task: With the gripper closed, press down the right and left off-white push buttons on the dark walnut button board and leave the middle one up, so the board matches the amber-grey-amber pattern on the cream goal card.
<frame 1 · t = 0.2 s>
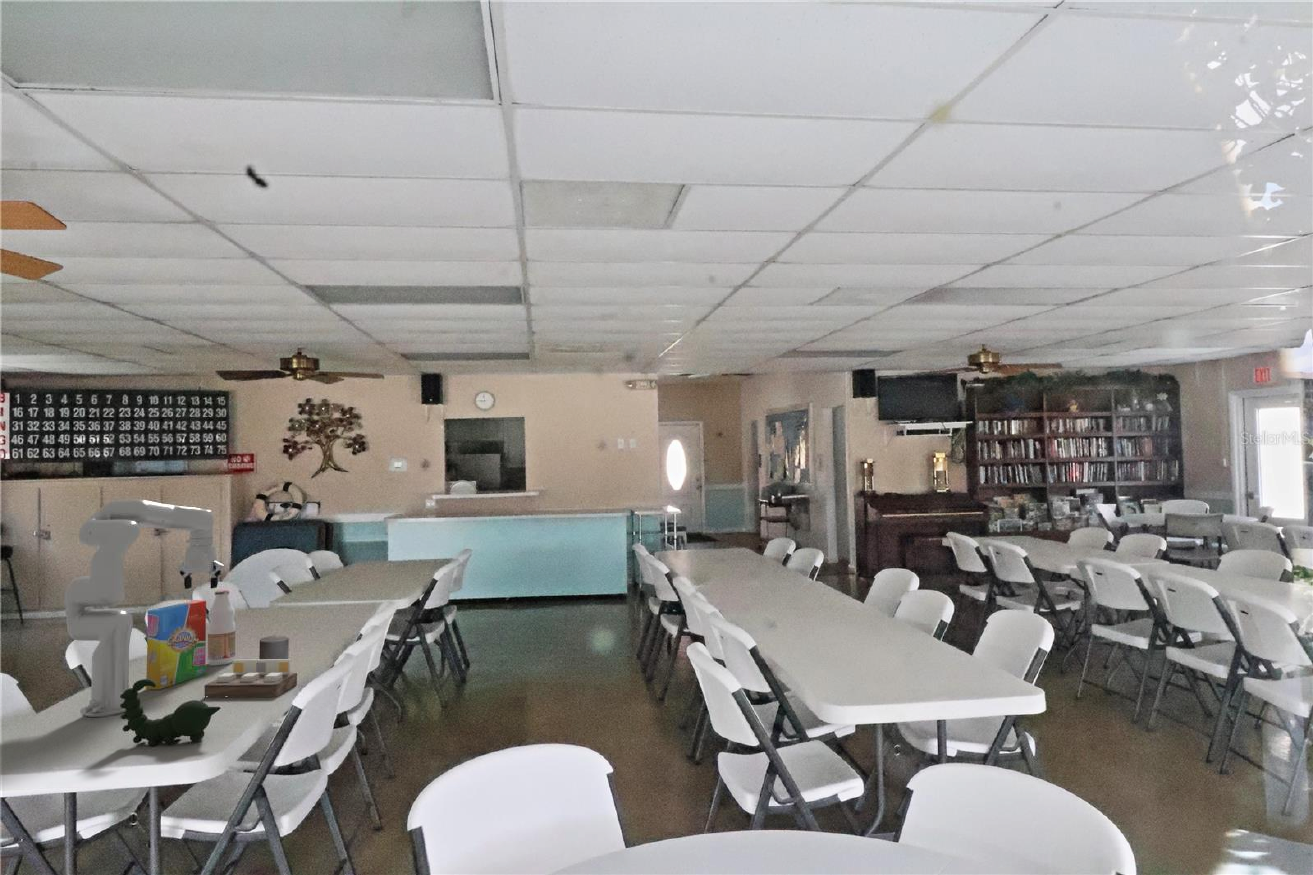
hand: (201, 588, 282), 31 cm above the table, tool pointing down, fingers open, 9 cm apart
goal card: (261, 674, 262), resting on button board
fruit juice: (221, 663, 293), on the table
toy figurine: (171, 743, 209), on the table
button board: (251, 690, 256), on the table
left button: (227, 678, 255), point 5 cm above the table, slide at 0.0 cm
middle button: (250, 678, 255), point 5 cm above the table, slide at 0.0 cm
pillar candle: (274, 676, 274), on the table
game box: (176, 682, 268), on the table
right button: (273, 677, 255), point 5 cm above the table, slide at 0.0 cm
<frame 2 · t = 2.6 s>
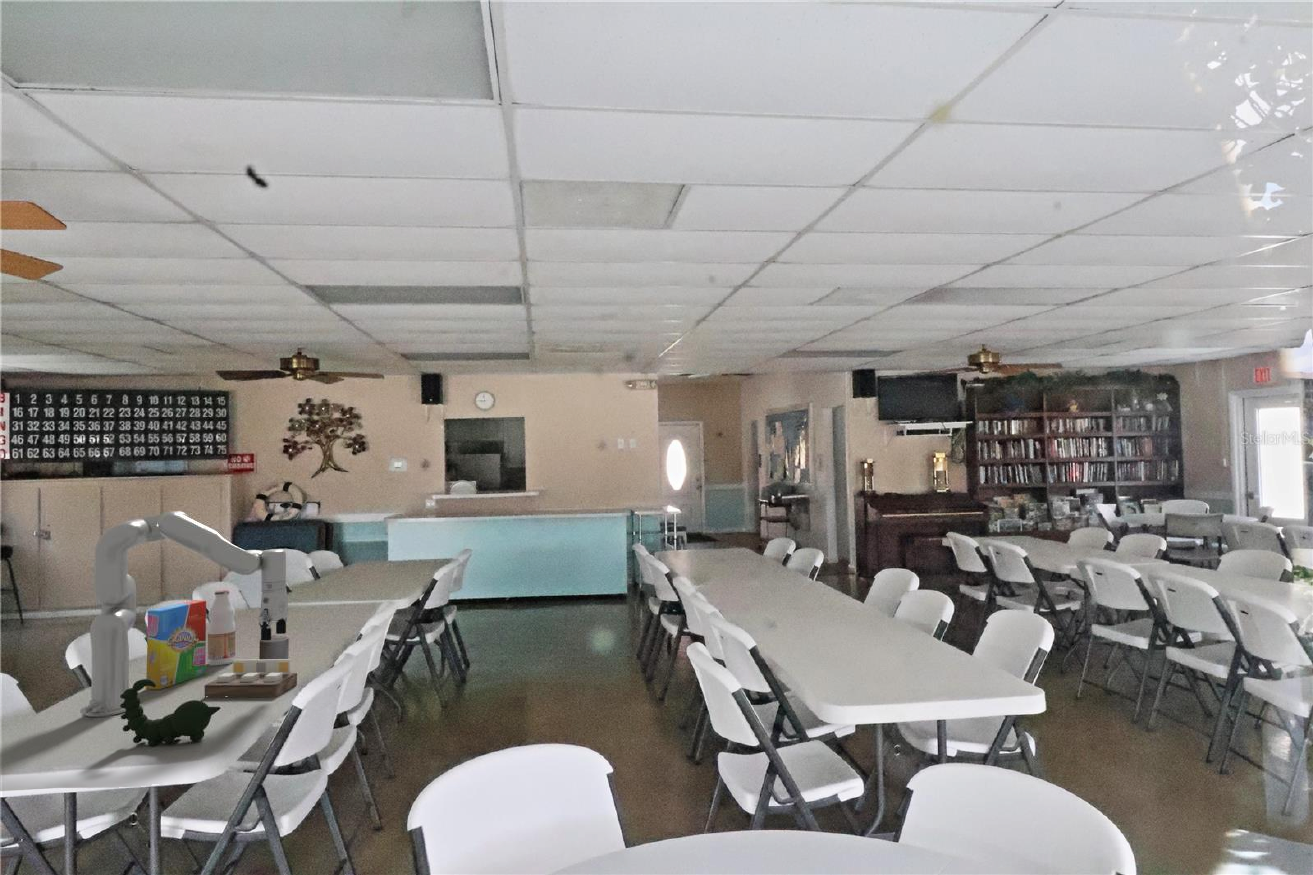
hand: (273, 636, 255), 18 cm above the table, tool pointing down, fingers open, 9 cm apart
nothing on the table moved.
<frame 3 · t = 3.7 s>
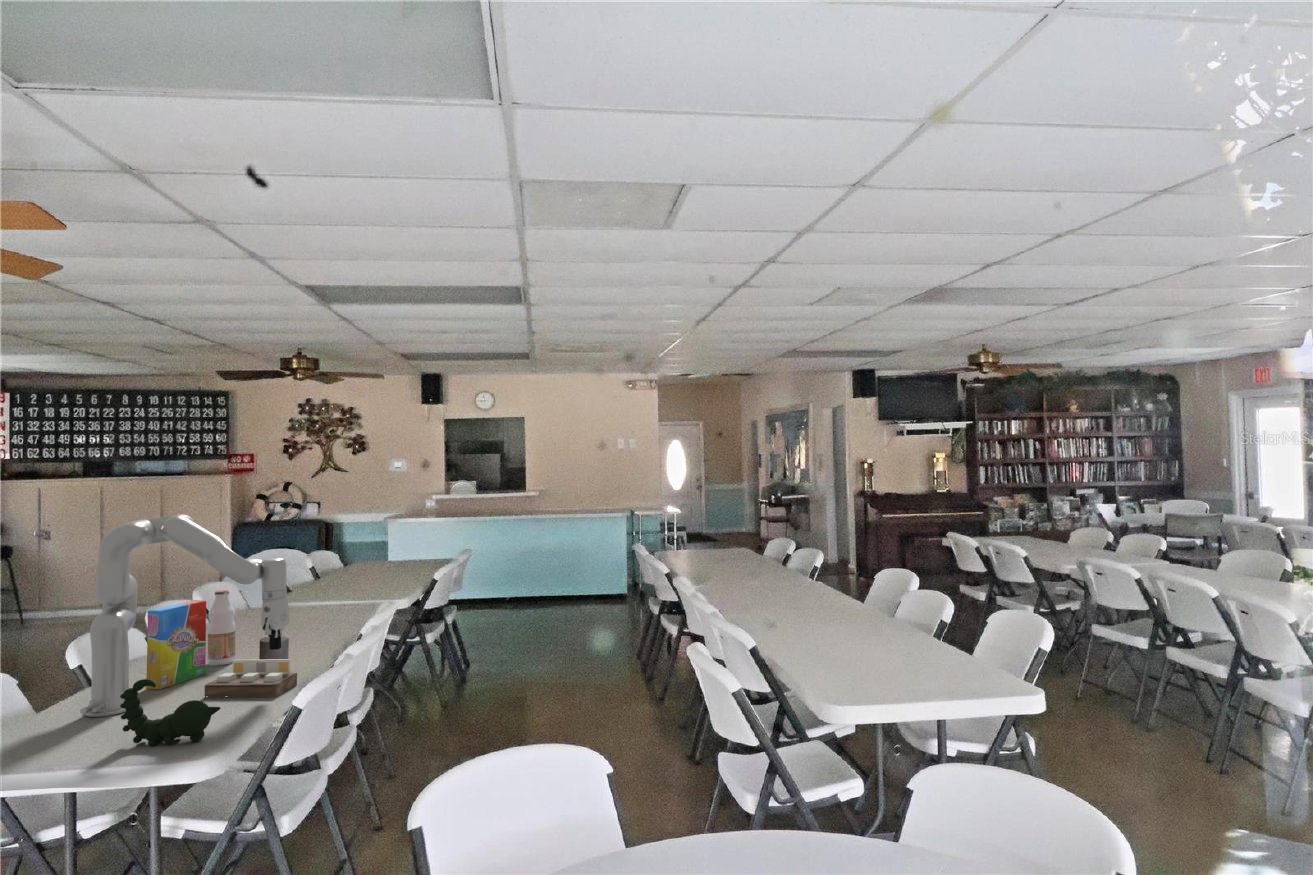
hand: (275, 648, 255), 14 cm above the table, tool pointing down, fingers closed
nothing on the table moved.
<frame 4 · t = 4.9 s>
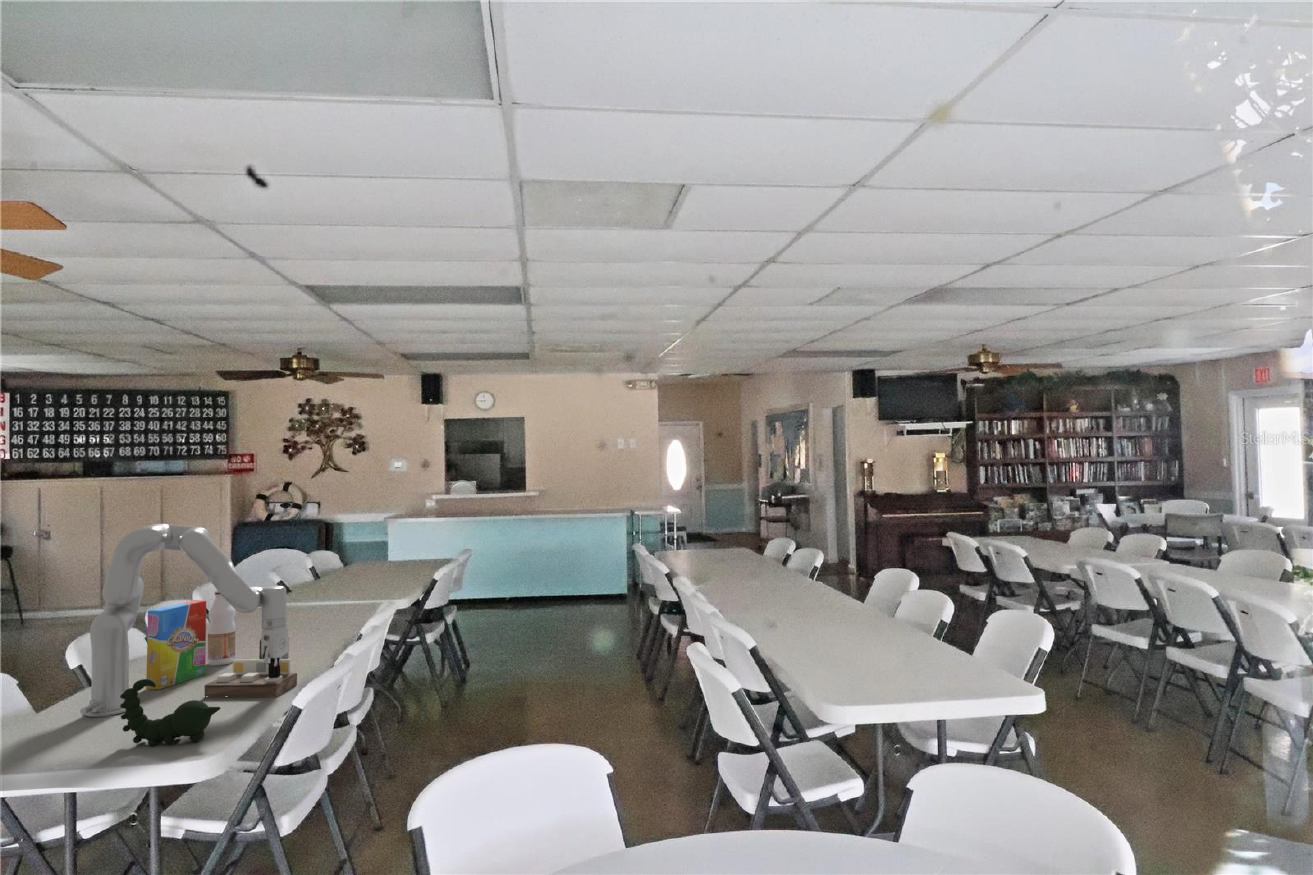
hand: (274, 677, 255), 5 cm above the table, tool pointing down, fingers closed
right button: (273, 681, 255), point 4 cm above the table, slide at 1.0 cm, touching gripper
everything else where it was.
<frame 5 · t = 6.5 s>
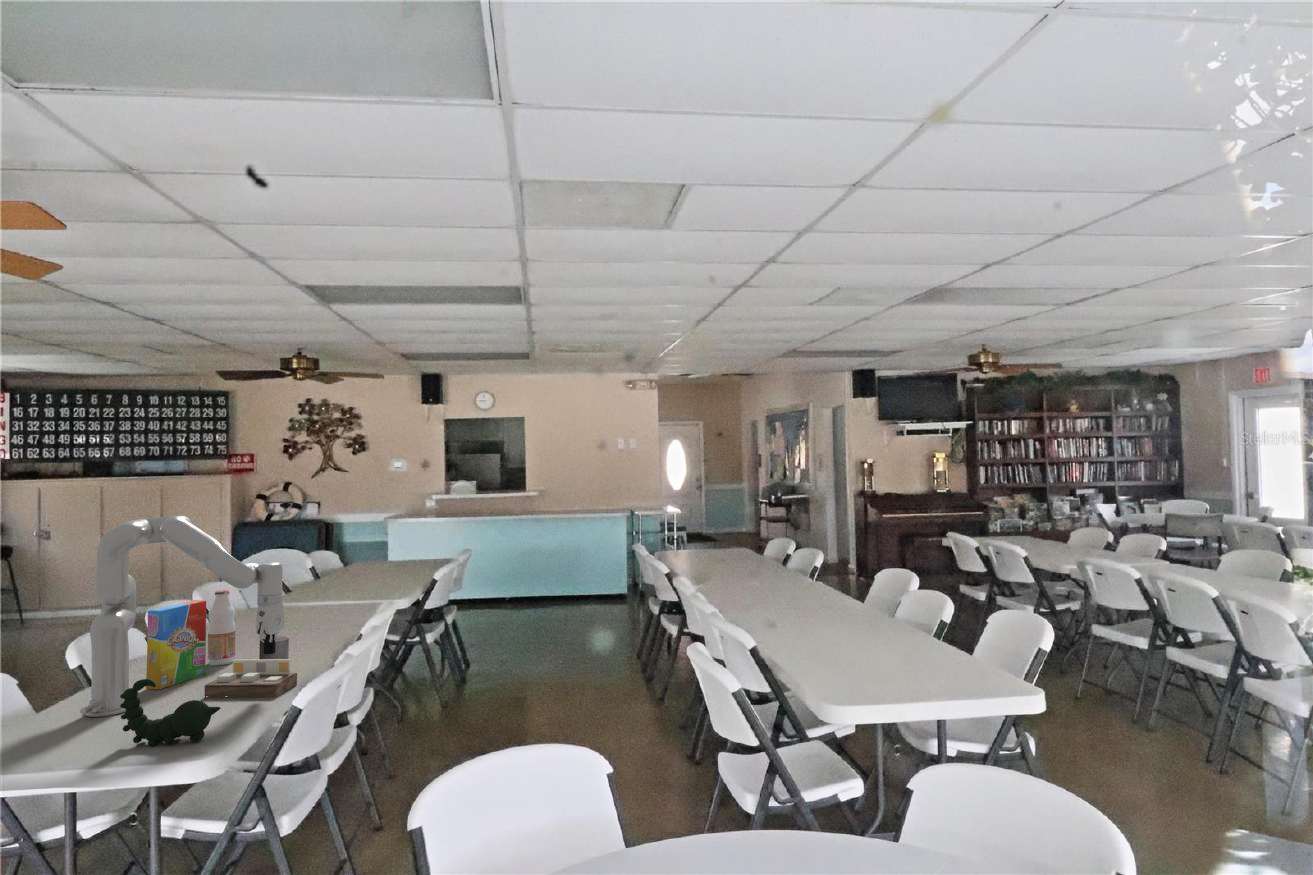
hand: (269, 653, 255), 13 cm above the table, tool pointing down, fingers closed
right button: (273, 681, 255), point 3 cm above the table, slide at 1.3 cm
everything else where it was.
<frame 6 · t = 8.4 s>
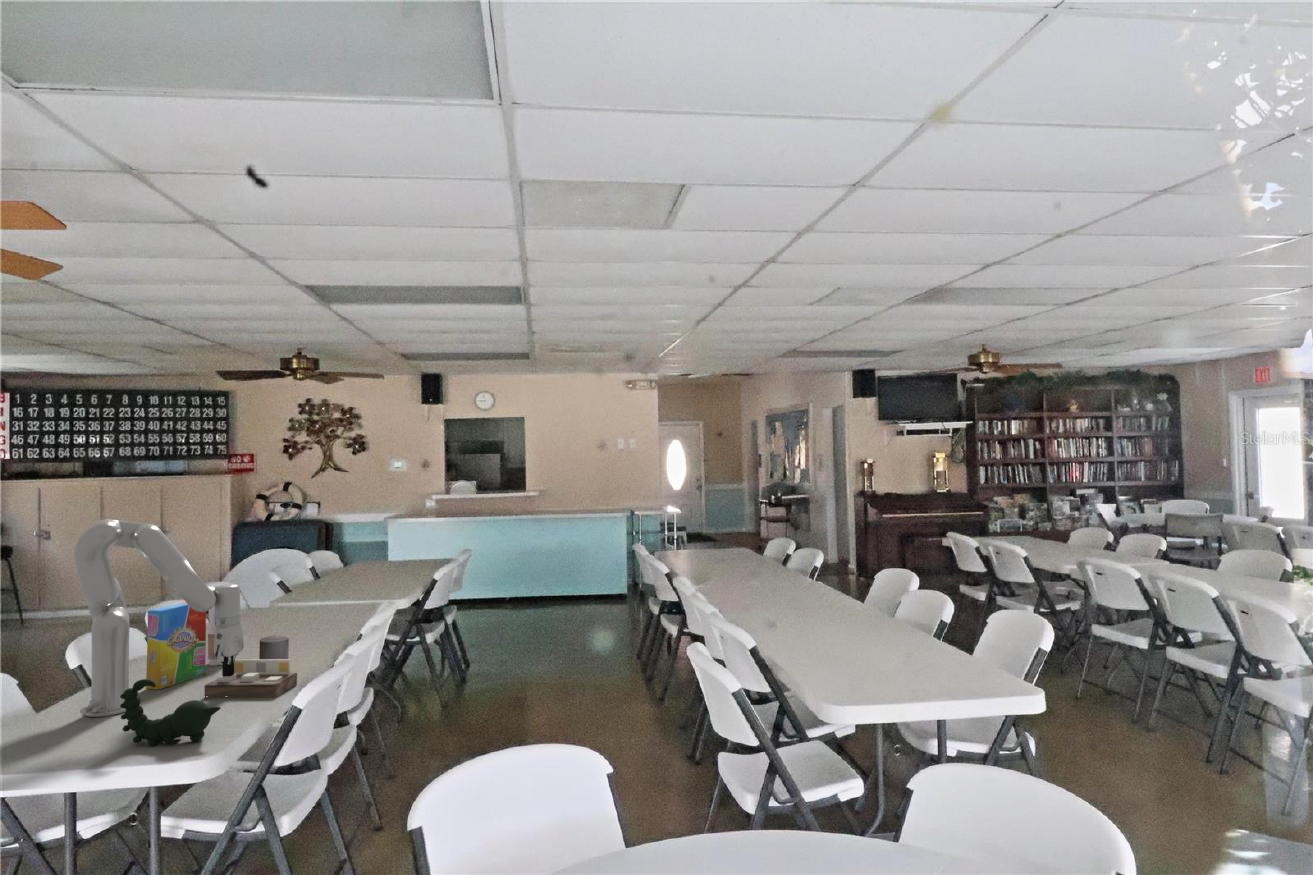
hand: (228, 675, 255), 5 cm above the table, tool pointing down, fingers closed
left button: (227, 679, 255), point 4 cm above the table, slide at 0.4 cm, touching gripper
everything else where it was.
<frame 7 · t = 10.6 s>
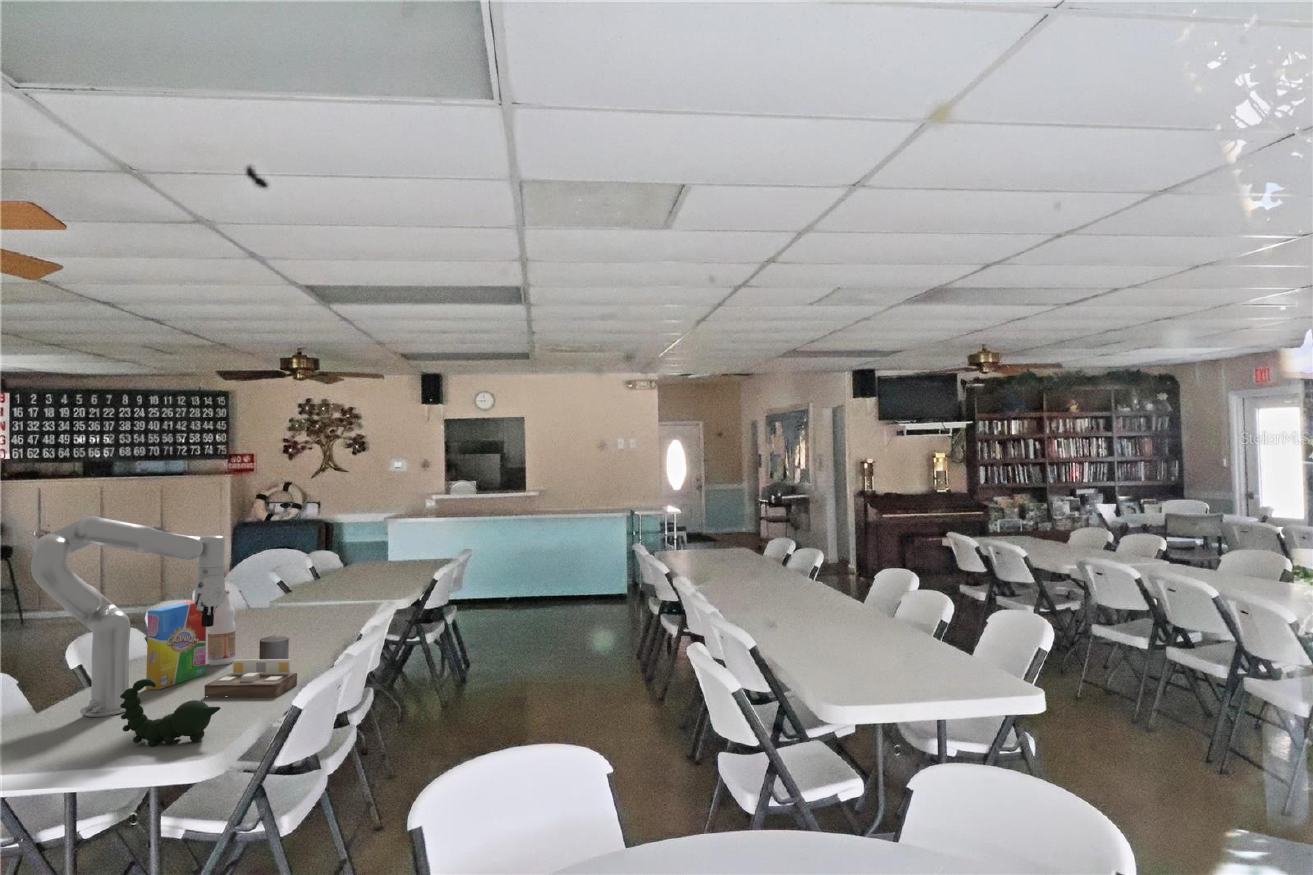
hand: (207, 626, 255), 22 cm above the table, tool pointing down, fingers closed
left button: (227, 682, 255), point 3 cm above the table, slide at 1.3 cm
everything else where it was.
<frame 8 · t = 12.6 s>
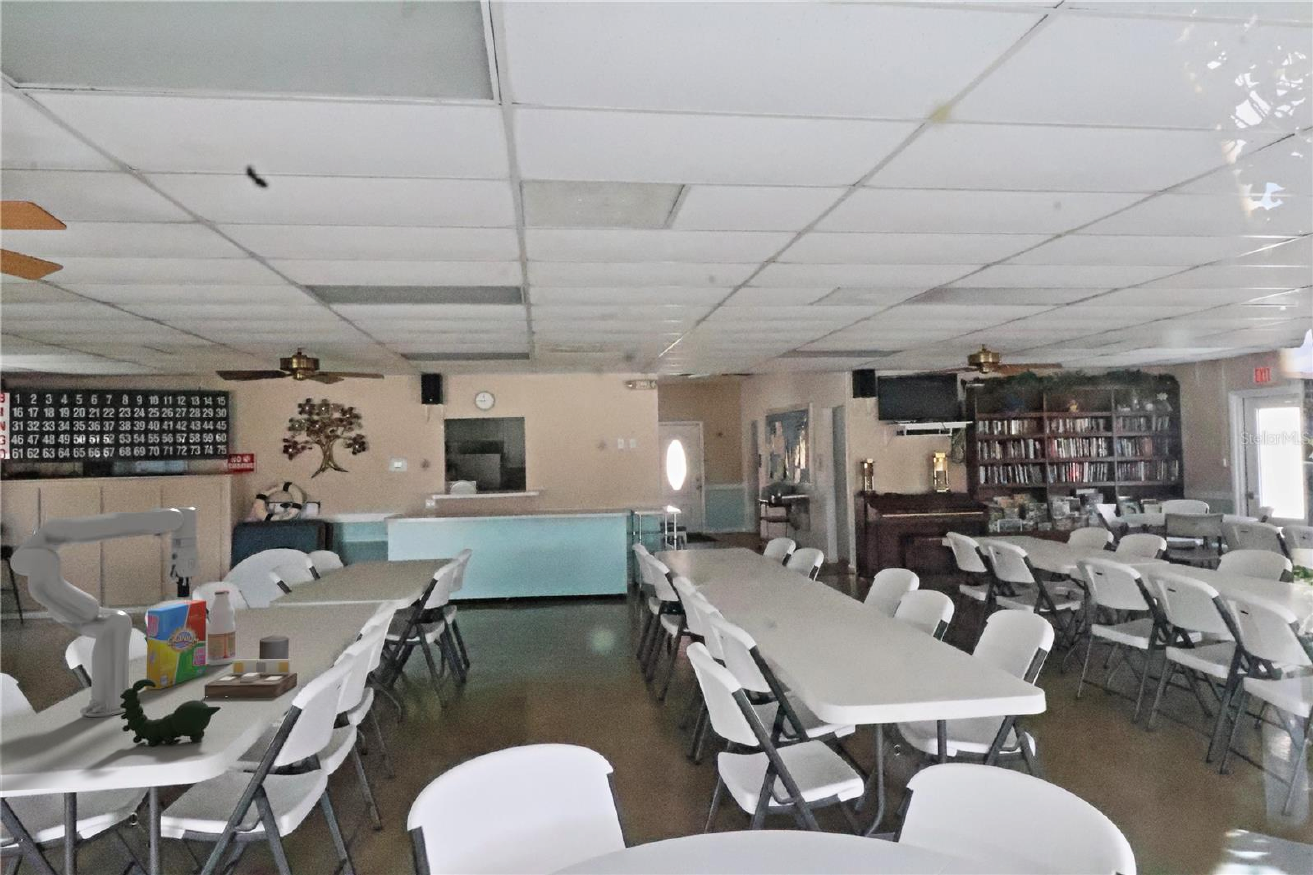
hand: (183, 596, 257), 32 cm above the table, tool pointing down, fingers closed
nothing on the table moved.
at the end: right button slide at 1.3 cm; left button slide at 1.3 cm; middle button slide at 0.0 cm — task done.
